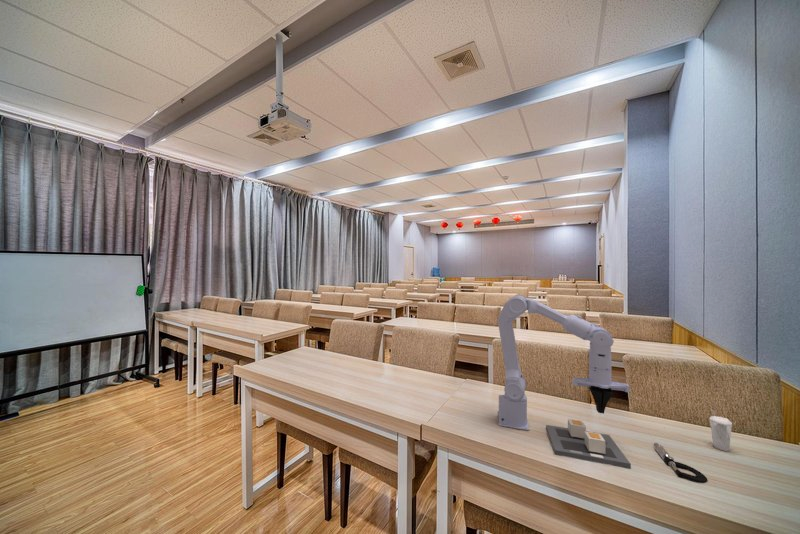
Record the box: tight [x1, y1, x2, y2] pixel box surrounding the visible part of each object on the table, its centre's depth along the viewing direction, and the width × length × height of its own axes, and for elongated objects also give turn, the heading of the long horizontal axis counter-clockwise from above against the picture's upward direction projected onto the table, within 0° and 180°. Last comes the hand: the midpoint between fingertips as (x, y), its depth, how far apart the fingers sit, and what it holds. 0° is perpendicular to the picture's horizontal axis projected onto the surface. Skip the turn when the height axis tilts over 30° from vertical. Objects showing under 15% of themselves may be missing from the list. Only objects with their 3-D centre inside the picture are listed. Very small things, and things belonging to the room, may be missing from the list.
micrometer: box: [653, 442, 708, 484], centre depth 78 cm, size 15×7×2 cm, turn 157°
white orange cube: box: [585, 430, 606, 454], centre depth 82 cm, size 4×4×4 cm
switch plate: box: [545, 424, 632, 469], centre depth 86 cm, size 18×15×1 cm
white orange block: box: [567, 418, 587, 439], centre depth 90 cm, size 4×4×4 cm
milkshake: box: [709, 409, 733, 452], centre depth 87 cm, size 5×5×10 cm
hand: (600, 411), depth 88 cm, fingers closed
